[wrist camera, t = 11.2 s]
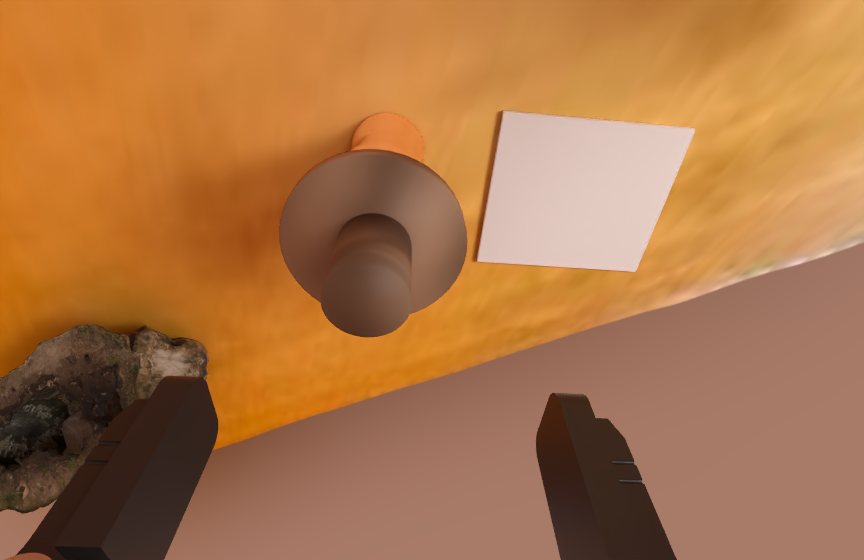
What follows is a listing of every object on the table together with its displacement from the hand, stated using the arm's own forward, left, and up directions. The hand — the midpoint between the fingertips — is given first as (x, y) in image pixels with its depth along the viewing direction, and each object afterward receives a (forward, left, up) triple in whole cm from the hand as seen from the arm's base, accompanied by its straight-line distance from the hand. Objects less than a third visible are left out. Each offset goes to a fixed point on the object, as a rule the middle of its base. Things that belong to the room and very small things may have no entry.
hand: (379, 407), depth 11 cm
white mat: (-16, +7, -30) cm, 34 cm away
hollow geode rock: (+32, +31, -30) cm, 54 cm away
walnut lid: (+1, +4, -15) cm, 15 cm away
